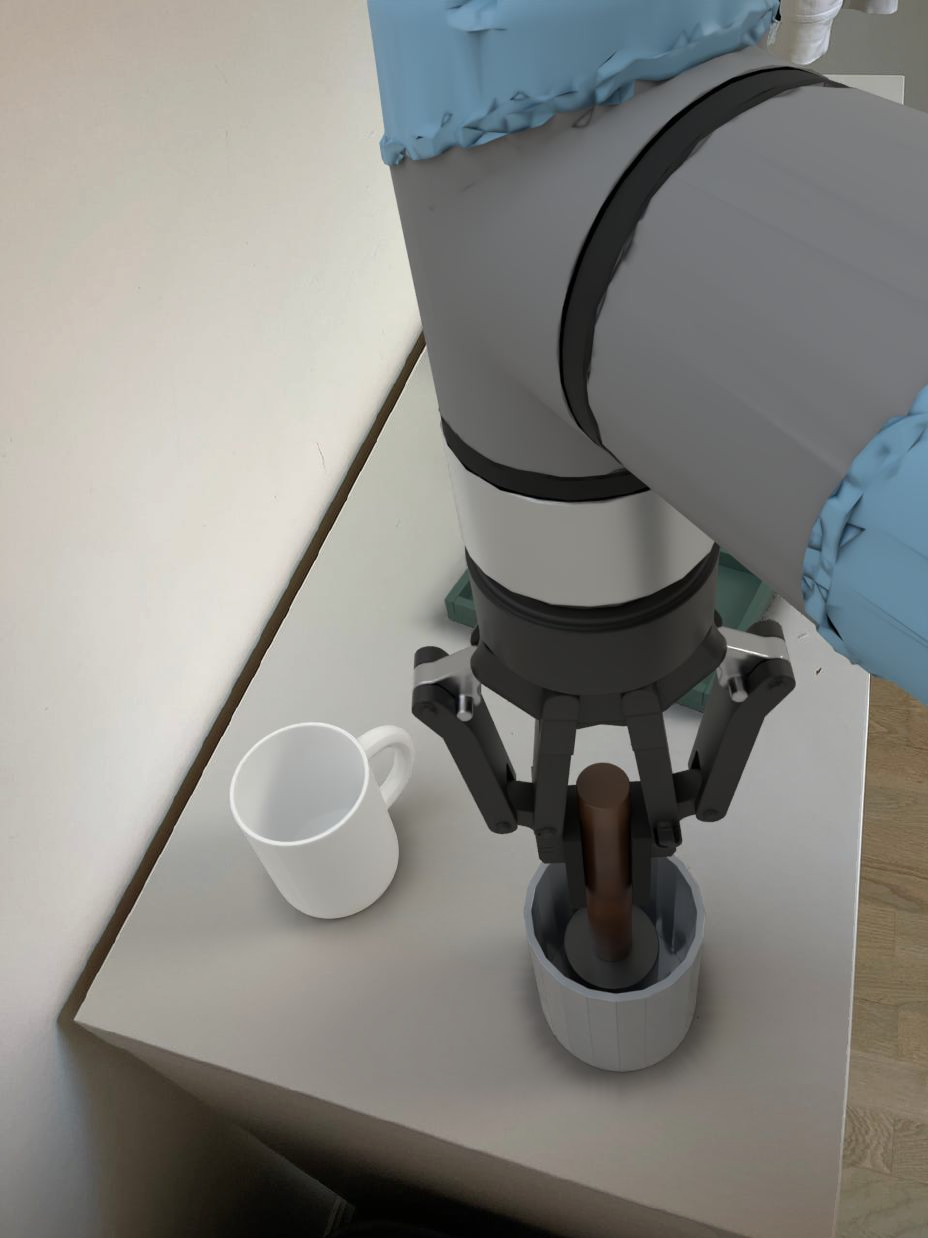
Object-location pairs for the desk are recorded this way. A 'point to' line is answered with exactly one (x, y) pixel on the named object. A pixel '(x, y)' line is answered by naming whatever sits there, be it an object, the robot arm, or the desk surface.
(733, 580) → the tray
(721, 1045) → the desk surface
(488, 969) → the desk surface
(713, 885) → the desk surface
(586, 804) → the brush
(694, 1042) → the desk surface
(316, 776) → the mug
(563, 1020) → the tumbler
